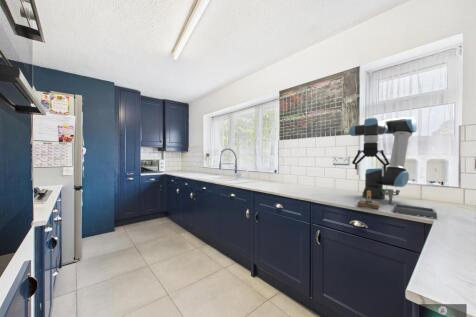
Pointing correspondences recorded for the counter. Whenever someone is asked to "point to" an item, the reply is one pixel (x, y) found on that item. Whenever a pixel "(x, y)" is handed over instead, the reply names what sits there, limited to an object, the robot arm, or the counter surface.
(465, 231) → the counter surface
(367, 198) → the tall wooden block
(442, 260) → the counter surface
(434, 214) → the parts tray
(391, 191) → the mechanical component
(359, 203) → the block
